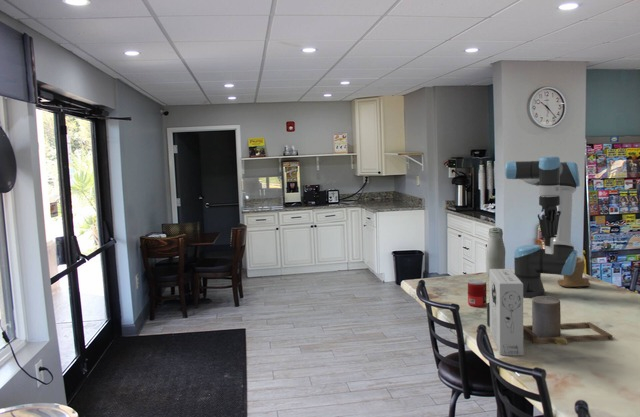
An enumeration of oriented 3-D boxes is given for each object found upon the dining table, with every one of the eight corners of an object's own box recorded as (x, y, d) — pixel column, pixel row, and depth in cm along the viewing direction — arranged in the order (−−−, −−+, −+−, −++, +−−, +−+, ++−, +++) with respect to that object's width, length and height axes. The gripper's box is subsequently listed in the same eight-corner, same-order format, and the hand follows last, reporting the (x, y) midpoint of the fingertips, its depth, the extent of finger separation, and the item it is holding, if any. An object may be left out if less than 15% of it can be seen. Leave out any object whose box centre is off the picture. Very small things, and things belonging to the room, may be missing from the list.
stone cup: (563, 289, 243) (563, 259, 242) (555, 283, 255) (555, 254, 253) (596, 289, 241) (596, 259, 240) (586, 283, 253) (586, 254, 251)
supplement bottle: (484, 323, 200) (483, 294, 199) (500, 322, 201) (500, 293, 200) (491, 329, 194) (491, 299, 192) (508, 328, 194) (508, 298, 193)
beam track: (585, 323, 195) (585, 316, 195) (616, 341, 176) (616, 333, 176) (512, 327, 194) (512, 320, 194) (536, 346, 175) (536, 338, 175)
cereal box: (523, 356, 168) (523, 283, 165) (499, 355, 169) (499, 283, 166) (510, 333, 189) (510, 268, 186) (489, 332, 190) (489, 268, 188)
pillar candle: (558, 331, 188) (557, 292, 187) (562, 340, 179) (562, 300, 178) (530, 330, 191) (530, 292, 190) (533, 339, 182) (533, 299, 181)
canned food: (487, 307, 220) (487, 283, 219) (468, 307, 222) (468, 283, 221) (485, 302, 228) (485, 279, 227) (467, 302, 230) (467, 279, 228)
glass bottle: (485, 280, 266) (485, 228, 263) (486, 276, 276) (486, 226, 273) (505, 281, 263) (505, 229, 260) (505, 276, 272) (505, 226, 269)
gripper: (549, 197, 191) (549, 257, 194) (567, 194, 199) (567, 252, 202) (531, 196, 198) (531, 254, 201) (549, 193, 205) (549, 249, 208)
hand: (549, 253), depth 201 cm, fingers closed
